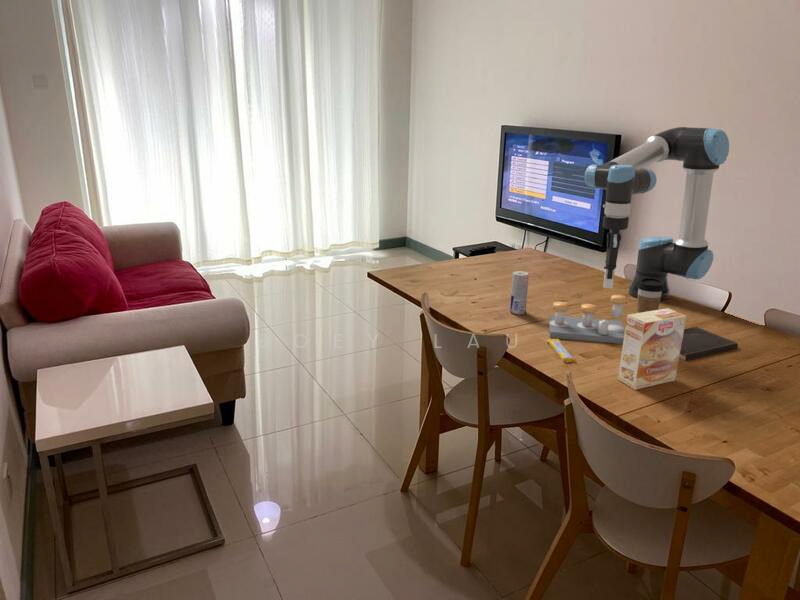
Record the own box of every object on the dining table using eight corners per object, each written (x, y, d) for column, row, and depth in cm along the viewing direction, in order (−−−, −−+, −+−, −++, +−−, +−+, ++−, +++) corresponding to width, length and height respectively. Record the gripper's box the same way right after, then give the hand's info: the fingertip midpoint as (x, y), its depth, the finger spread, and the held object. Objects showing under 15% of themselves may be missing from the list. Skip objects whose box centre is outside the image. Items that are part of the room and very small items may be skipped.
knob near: (623, 314, 204) (626, 295, 201) (625, 319, 199) (628, 300, 197) (608, 313, 205) (610, 294, 202) (609, 318, 200) (612, 298, 198)
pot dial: (599, 331, 200) (600, 318, 199) (608, 333, 199) (609, 320, 198) (596, 333, 198) (598, 320, 197) (606, 335, 196) (607, 322, 195)
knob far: (566, 320, 208) (568, 302, 206) (567, 325, 204) (569, 307, 202) (551, 319, 209) (553, 301, 207) (551, 324, 205) (553, 305, 203)
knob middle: (594, 322, 207) (596, 304, 204) (595, 328, 202) (597, 309, 200) (578, 321, 208) (580, 303, 205) (579, 326, 203) (581, 308, 201)
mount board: (621, 326, 211) (622, 320, 210) (627, 344, 196) (628, 337, 195) (548, 320, 215) (549, 314, 215) (549, 337, 201) (549, 331, 200)
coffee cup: (658, 319, 217) (665, 279, 212) (657, 327, 210) (664, 285, 205) (633, 316, 221) (639, 276, 216) (631, 323, 213) (637, 282, 208)
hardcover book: (644, 343, 198) (645, 337, 197) (694, 333, 207) (696, 326, 207) (685, 362, 184) (686, 355, 184) (737, 350, 194) (738, 343, 193)
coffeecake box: (635, 390, 165) (645, 322, 159) (616, 379, 172) (625, 313, 165) (676, 381, 171) (688, 315, 165) (657, 370, 177) (667, 307, 171)
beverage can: (528, 312, 223) (532, 272, 218) (520, 316, 219) (523, 275, 214) (515, 308, 227) (518, 269, 222) (507, 312, 223) (509, 272, 218)
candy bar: (577, 364, 182) (577, 358, 181) (563, 365, 181) (564, 359, 181) (558, 342, 198) (559, 337, 197) (546, 343, 197) (546, 337, 197)
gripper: (602, 211, 199) (594, 280, 206) (605, 219, 187) (596, 292, 195) (626, 212, 197) (618, 282, 205) (631, 220, 185) (621, 294, 193)
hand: (607, 287), depth 200 cm, fingers closed
